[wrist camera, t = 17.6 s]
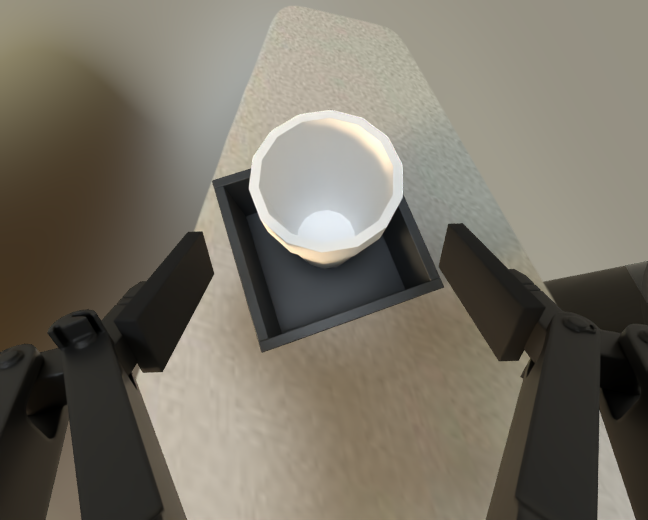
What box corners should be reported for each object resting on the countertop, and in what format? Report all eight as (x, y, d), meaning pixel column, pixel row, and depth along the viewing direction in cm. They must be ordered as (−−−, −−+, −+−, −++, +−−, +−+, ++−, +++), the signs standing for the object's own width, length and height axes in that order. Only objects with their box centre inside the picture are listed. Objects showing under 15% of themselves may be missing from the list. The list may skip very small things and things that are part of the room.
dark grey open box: (413, 296, 30) (444, 287, 22) (278, 345, 29) (261, 352, 21) (362, 175, 33) (374, 129, 25) (239, 215, 32) (211, 180, 24)
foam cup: (385, 263, 30) (430, 217, 17) (301, 298, 29) (282, 276, 16) (348, 185, 32) (364, 91, 19) (269, 215, 31) (229, 138, 18)
